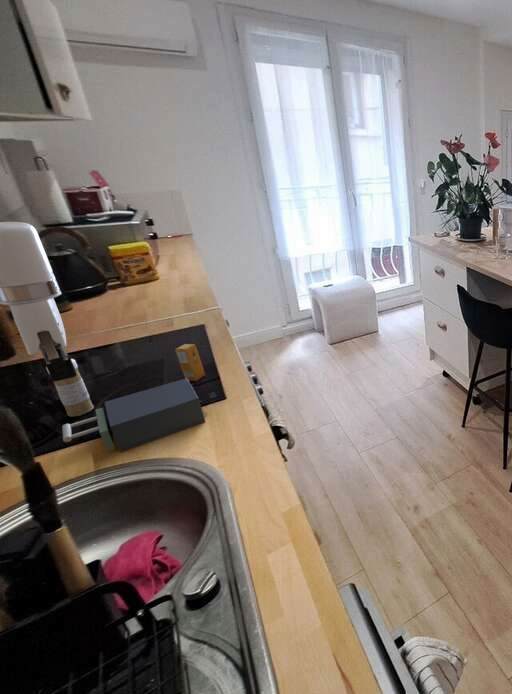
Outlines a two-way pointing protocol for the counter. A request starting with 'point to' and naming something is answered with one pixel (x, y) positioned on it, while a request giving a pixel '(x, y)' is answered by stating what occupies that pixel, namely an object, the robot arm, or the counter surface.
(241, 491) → the counter surface
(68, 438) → the drawer
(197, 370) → the supplement box
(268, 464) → the counter surface
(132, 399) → the cabinet
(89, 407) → the sprinkles bottle
